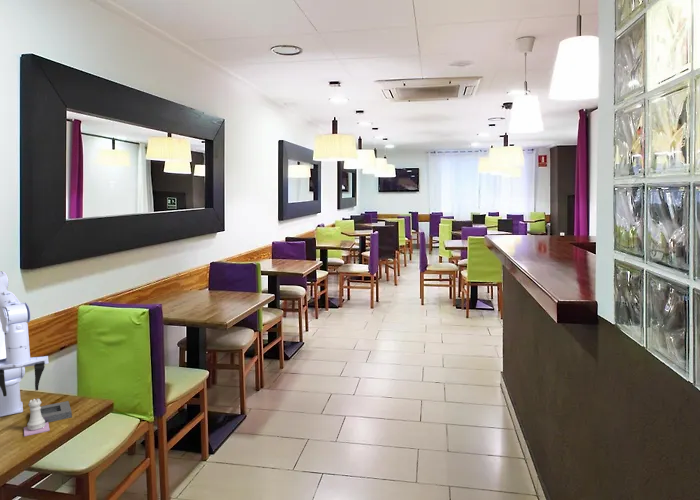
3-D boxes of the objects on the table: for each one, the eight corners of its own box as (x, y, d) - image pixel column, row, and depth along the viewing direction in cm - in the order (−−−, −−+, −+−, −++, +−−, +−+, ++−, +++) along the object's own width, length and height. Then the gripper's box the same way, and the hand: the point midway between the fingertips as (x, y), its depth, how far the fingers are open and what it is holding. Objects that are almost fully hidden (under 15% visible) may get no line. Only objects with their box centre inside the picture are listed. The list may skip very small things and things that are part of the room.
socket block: (30, 414, 155) (30, 408, 155) (68, 406, 160) (68, 400, 160) (31, 425, 146) (31, 419, 146) (71, 417, 152) (71, 411, 152)
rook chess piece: (35, 432, 141) (33, 404, 141) (23, 430, 143) (21, 402, 142) (49, 425, 145) (47, 398, 145) (38, 423, 147) (36, 396, 146)
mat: (23, 428, 144) (23, 427, 144) (48, 423, 148) (48, 422, 148) (24, 436, 140) (24, 435, 139) (49, 430, 143) (49, 429, 143)
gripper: (-15, 353, 139) (-11, 402, 140) (47, 344, 147) (51, 390, 148) (-14, 348, 144) (-10, 394, 146) (46, 339, 152) (49, 384, 154)
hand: (21, 392), depth 147 cm, fingers open, 7 cm apart
